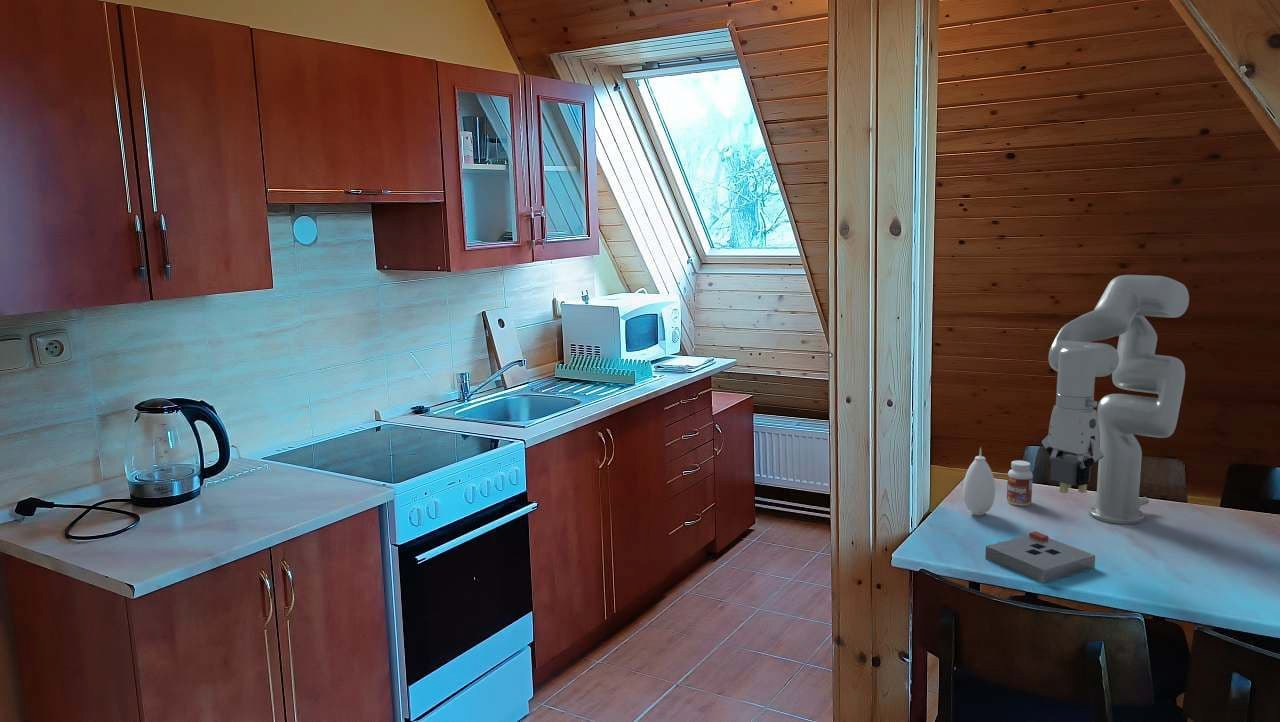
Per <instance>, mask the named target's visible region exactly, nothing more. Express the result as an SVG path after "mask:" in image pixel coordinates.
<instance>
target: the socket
mask: <svg viewBox="0 0 1280 722" xmlns="http://www.w3.org/2000/svg"><path fill="white" fill-rule="evenodd" d="M984 555H985V559H986V560H988V561H990V562H993V563H995V564H997V565H1000V566H1002V567H1004V568H1007V569H1009V570H1011V571H1014V572H1016V573H1018V574H1021V575H1023V576H1026V577H1028V578H1030V579H1033V580H1034V581H1037V582H1039V583H1042V584H1047V583H1050V582H1053V581H1057V580H1060V579H1063V578H1067V577H1070V576H1072V575H1077V574H1080V573H1084V572H1087V571H1090V570H1093V569H1095V568H1096V567H1095V566H1096V565H1095V564H1096V555H1095V554H1094V553H1091V552H1087V551H1086V550H1082V549H1079V548H1077V547H1075V546H1072V545H1068V544H1066V543H1064V542H1060V541H1058V540H1055V539H1052V538H1050V537H1049V535H1047V534H1044V533H1041V532H1039V531H1036V530H1034V531H1032V532H1029V534H1026V535H1023V536H1019V537H1015V538H1014V537H1013V538H1011V539H1008V540H1004V541H1000V542H997V543H993V544H989V545H985V554H984Z"/></svg>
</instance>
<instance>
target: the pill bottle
mask: <svg viewBox="0 0 1280 722" xmlns="http://www.w3.org/2000/svg"><path fill="white" fill-rule="evenodd" d="M1010 468H1011V469H1009V471H1008V472H1007V484H1006V501H1007V503H1008V504H1011V505H1013V506H1020V507H1022V506H1023V507H1025V506H1026V507H1027V506H1029V505H1031V503H1032V498H1033V496H1032V495H1033V494H1032V493H1033V480H1034V475H1033V472H1032V471H1031V463H1030V462H1029V461H1027V460H1026V461H1025V460H1019V459H1018V460H1013V461H1011V465H1010Z"/></svg>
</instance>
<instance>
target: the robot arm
mask: <svg viewBox="0 0 1280 722" xmlns="http://www.w3.org/2000/svg"><path fill="white" fill-rule="evenodd" d="M1189 303H1190V294H1189V291H1188V289H1187V287H1186V286H1185V284H1183V283H1181V282H1180V281H1177V280H1176V279H1173V278H1170V277H1167V276H1163V275H1144V274H1123V275H1118V276H1115V277H1114V278H1112V279H1111V280H1110V282H1109V283H1108V284H1107V287H1105V289H1104V292H1103V293H1102V295H1101V296H1100V299H1099V300H1098V302H1097V304H1096V305H1095V308H1094V309H1093V310H1092V311H1088V312H1087V313H1084V314H1082V315H1080V316H1078V317H1076V318H1074V319H1073V320H1071V321H1069V322H1067V323H1066V324H1064V326H1062V327H1061V328H1060V330H1059V331H1058V333H1057V334H1056V336H1055V338H1054V340H1053V342H1052V344H1051V346H1050V348H1049V350H1048V351H1049V352H1048V356H1047V357H1048V364H1049V365H1050V367H1051V368H1052V369H1053V371H1056V372H1057V380H1056V398H1055V404H1054V405H1053V407H1052V408H1053V409H1052V411H1051V415H1050V420H1049V426H1048V434H1047V435H1046V436H1045V437H1044V438H1043V439H1042V440H1041V444H1042V446H1043V447H1044V448H1045V449H1046V451H1047V453H1048V455H1049V460H1051V458H1053V457H1058V456H1063V455H1065V453H1068V454H1071V455H1075V456H1077V457H1078V461H1079V466H1080V467H1079V468H1077V481H1076V486H1078V487H1079V486H1080V485H1085V484H1087V485H1088V483H1089V482H1088V480H1089V469H1090V467H1091V468H1092V467H1093V466H1094V464H1097V462H1098V467H1097V468H1098V469H1097V480H1096V481H1097V485H1096V502H1095V504H1093V505H1092V506H1089V509H1088V513H1089V515H1090V516H1091V517H1093V518H1095V519H1096V520H1099V521H1102V522H1107V523H1109V524H1110V523H1113V524H1121V525H1134V524H1140V523H1142V522H1144V520H1145V518H1146V517H1145V516H1146V515H1145V513H1144V512H1143V511H1141V510H1140V508H1141V506H1144V505H1148V504H1149V501H1150V500H1149V498H1148V497H1146V496H1143V497H1140V487H1141V486H1140V484H1141V473H1142V472H1141V470H1142V459H1143V458H1142V455H1143V452H1142V447H1141V445H1140V443H1139V441H1138V439H1137V438H1136V437H1135V435H1138V436H1142V437H1144V436H1145V437H1151V438H1159V439H1162V438H1163V439H1165V438H1169V437H1171V436H1172V435H1173V434H1174V432H1175V430H1176V427H1177V424H1178V419H1179V413H1180V409H1181V403H1182V397H1183V393H1184V387H1185V383H1186V382H1185V381H1186V369H1185V364H1184V363H1183V361H1182V360H1181V359H1180V358H1177V357H1176V356H1171V355H1161V354H1156V348H1157V342H1158V334H1157V332H1156V330H1155V329H1154V327H1153V326H1152V324H1151V323H1150V322H1149V320H1148V319H1147V318H1146V317H1154V318H1155V317H1156V318H1179V317H1181V316H1182V315H1184V314H1185V312H1186V311H1187V309H1188V307H1189ZM1114 337H1118V341H1117V346H1116V347H1117V348H1115V347H1114V346H1113V345H1111V344H1108V343H1104V342H1103V343H1102V342H1096V341H1103V340H1107V339H1111V338H1114ZM1110 375H1111V379H1112V384H1113V385H1114V386H1115V387H1116V388H1118V389H1121V390H1126V391H1133V392H1140V393H1141V392H1142V393H1148V394H1157V396H1158V397H1150V396H1142V395H1135V394H1128V393H1127V394H1126V393H1111V394H1107V395H1104V396H1103V397H1102V398H1101V399H1100V400H1099V402H1098V401H1097V400H1095V383H1096V378H1101V377H1107V376H1110ZM1094 408H1097V410H1096V409H1094ZM1091 454H1093V455H1092V456H1091ZM1084 458H1085V460H1084Z"/></svg>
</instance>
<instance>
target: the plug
mask: <svg viewBox="0 0 1280 722" xmlns="http://www.w3.org/2000/svg"><path fill="white" fill-rule="evenodd" d="M1084 460H1085V457H1084ZM1079 467H1080V466H1079V461H1078V457H1077V455H1076V454H1072V453H1068V454H1064V455H1063V456H1058V457H1053V458H1051V459H1050V475H1049V477H1050V478H1049V479H1050V480H1051V481H1055V482H1059V493H1061V494H1068V493H1069V489H1071V488H1072V486H1075V485H1076V486H1077V484H1076V481H1077V468H1079ZM1091 468H1092V467H1090V469H1089V480H1088V483H1089V482H1090V481H1091V471H1092V470H1091ZM1087 489H1088V484H1085V485H1080V486H1079V485H1078V490H1077V491H1078V493H1081V494H1086V493H1087V491H1088V490H1087Z"/></svg>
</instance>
